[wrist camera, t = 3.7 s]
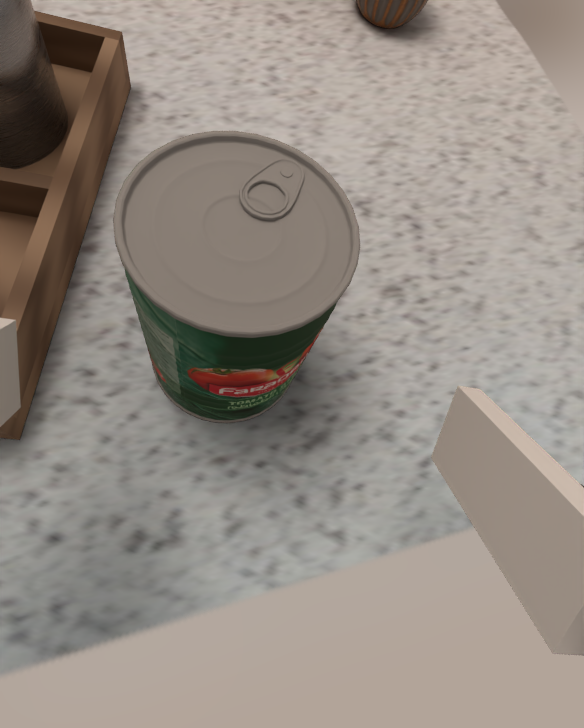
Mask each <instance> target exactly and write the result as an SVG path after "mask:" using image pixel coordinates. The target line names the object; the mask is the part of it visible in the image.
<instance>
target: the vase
mask: <svg viewBox="0 0 584 728" xmlns="http://www.w3.org/2000/svg"><path fill="white" fill-rule="evenodd" d="M427 1H428V0H356V2H357V4H358V7H359V9H360V11H361V13H362V15H363V16H364V17H365V18H366V19H367V20H368V21H370V22H371V23H373V24H375V25H377V26H379V27H383V28H396V27H399V26H401V25H403V24H405V23H407V22H409V21H410V20H411V19H413V18H414V17H415V16H416V15H417V14H418V13H419V12H420V11H421V10H422V8H423V7H424V6H425V4H426V3H427Z"/></svg>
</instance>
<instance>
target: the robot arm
mask: <svg viewBox="0 0 584 728" xmlns="http://www.w3.org/2000/svg"><path fill="white" fill-rule="evenodd" d="M19 408H21V404H20V385H19V367H18V349H17V331H16V320H12V319H5V318H0V427H1V426H2V425H3V424H4V423H5V422H6V421H7V420H8V419H9V418H10V417H11V416H12V415H13V414H14V413H15V412H16V411H17V410H18V409H19ZM431 458H432V460H433V462H434V463H435V465H436V466H437V468H438V470H439V471H440V473H441V474H442V476H443V478H444V479H445V481H446V483H447V484H448V486H449V487H450V489H451V491H452V492H453V494H454V495H455V497H456V499H457V500H458V502H459V503H460V505H461V507H462V508H463V510H464V512H465V513H466V515H467V516H468V518H469V520H470V521H471V523H472V524H473V526H474V528H475V529H476V531H477V532H478V534H479V536H480V537H481V539H482V541H483V542H484V544H485V545H486V547H487V549H488V550H489V552H490V553H491V555H492V557H493V558H494V560H495V562H496V563H497V565H498V566H499V568H500V570H501V571H502V573H503V574H504V576H505V578H506V579H507V581H508V582H509V584H510V586H511V587H512V589H513V591H514V592H515V594H516V595H517V597H518V599H519V600H520V602H521V603H522V605H523V607H524V608H525V610H526V612H527V613H528V615H529V616H530V618H531V620H532V621H533V623H534V624H535V626H536V627H537V629H538V631H539V632H540V634H541V636H542V637H543V639H544V640H545V642H546V644H547V645H548V647H549V649H550V650H551V652H552V653H553V654H568V655H584V486H583V485H581V484H580V483H578V482H577V481H576V480H575V479H574V478H573V477H572V476H571V475H570V474H569V473H568V472H567V471H566V470H565V469H564V468H563V467H562V466H560V465H559V464H558V463H557V462H556V461H555V460H554V459H553V458H552V457H551V456H550V455H549V454H548V453H547V452H546V451H545V450H544V449H543V448H542V447H540V446H539V445H538V444H537V443H536V442H535V441H534V440H533V439H532V438H531V437H530V436H529V435H528V434H527V433H526V432H525V431H524V430H523V429H521V428H520V427H519V426H518V425H517V424H516V423H515V422H514V421H513V420H512V419H511V418H510V417H509V416H508V415H507V414H506V413H505V412H504V411H503V410H501V409H500V408H499V407H498V406H497V405H496V404H495V403H494V402H493V401H492V400H491V399H490V398H489V397H488V396H487V395H486V394H485V393H484V392H483V391H481V390H480V389H476V388H469V387H462V386H458V387H457V389H456V392H455V395H454V397H453V400H452V403H451V405H450V408H449V411H448V413H447V416H446V419H445V421H444V424H443V427H442V429H441V432H440V435H439V438H438V440H437V443H436V446H435V448H434V451H433V454H432V456H431Z"/></svg>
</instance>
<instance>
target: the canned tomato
mask: <svg viewBox="0 0 584 728" xmlns="http://www.w3.org/2000/svg"><path fill="white" fill-rule="evenodd" d="M113 223H114V234H115V244H116V247H117V249H118V252H119V255H120V258H121V261H122V264H123V266H124V267H125V273H126V277H127V280H128V282H129V287H130V290H131V293H132V296H133V300H134V303H135V306H136V311H137V313H138V317H139V321H140V323H141V328H142V331H143V334H144V337H145V340H146V344H147V347H148V351H149V354H150V358H151V361H152V366H153V370H154V373H155V376H156V379H157V382H158V383H159V385H160V387H161V388H162V390H163V391H164V393H165V394H166V395H167V397H168V398H169V399H170V400H171V401H172V402H173V403H174V404H175V405H176V406H178V407H179V408H181V409H182V410H184V411H185V412H186V413H188V414H190V415H193V416H195V417H197V418H200V419H202V420H207V421H212V422H217V423H233V422H239V421H245V420H248V419H251V418H253V417H256V416H259V415H261V414H262V413H264V412H265V411H267V410H269V409H270V408H272V407H273V406H274V405H275V404H276V403H277V402H278V401H279V400H280V399H281V398H282V397H283V395H284V394H285V393H286V391H287V390H288V388H289V387H290V384H291V382H292V380H293V378H294V377H295V375H296V373H297V372H298V370H299V368H300V366H301V365H302V363H303V361H304V360H305V358H306V356H307V354H308V353H309V351H310V349H311V347H312V346H313V344H314V342H315V340H316V339H317V337H318V335H319V333H320V332H321V330H322V329H323V327H324V324H325V323H326V322H327V320H328V318H329V316H330V314H331V313H332V311H333V310H334V308H335V306H336V303H337V301H338V300H339V299H340V297H341V296H342V294H343V293H344V291H345V290H346V289H347V287H348V286H349V284H350V282H351V280H352V277H353V275H354V272H355V270H356V267H357V264H358V257H359V250H360V238H359V226H358V223H357V220H356V217H355V213H354V210H353V208H352V206H351V204H350V202H349V200H348V198H347V196H346V195H345V193H344V191H343V190H342V188H341V187H340V186H339V185H338V183H337V182H336V181H335V180H334V178H333V177H332V176H331V175H330V174H329V173H328V172H327V171H326V170H325V169H324V168H322V167H321V166H320V165H319V164H318V163H317V162H316V161H314V160H313V159H311V158H310V157H308V156H307V155H305V154H304V153H302V152H301V151H299V150H297V149H295V148H293V147H291V146H289V145H287V144H284V143H282V142H280V141H278V140H275V139H271V138H268V137H265V136H261V135H258V134H252V133H245V132H238V131H211V132H204V133H198V134H192V135H189V136H186V137H183V138H180V139H177V140H174V141H171V142H169V143H167V144H165V145H164V146H162V147H160V148H158V149H156V150H154V151H153V152H151V153H150V154H149V155H148V156H147V157H146V158H144V159H143V160H142V161H141V162H140V163H138V164H137V165H136V167H135V168H134V169H133V170H132V172H131V173H130V174H129V176H128V177H127V178H126V180H125V181H124V183H123V186H122V188H121V190H120V193H119V195H118V197H117V200H116V206H115V212H114V218H113Z"/></svg>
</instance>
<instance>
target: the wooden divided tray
mask: <svg viewBox="0 0 584 728" xmlns="http://www.w3.org/2000/svg"><path fill="white" fill-rule="evenodd" d="M34 12H35V15H36V19H37V22H38V25H39V28H40V31H41V34H42V37H43V40H44V43H45V46H46V49H47V52H48V55H49V58H50V62H51V65H52V68H53V71H54V74H55V77H56V80H57V83H58V86H59V89H60V92H61V95H62V98H63V101H64V104H65V108H66V111H67V114H68V128H67V132H66V134H65V137H64V139H63V140H62V142H61V143H60V145H59V146H58V147H57V148H56V149H55V150H54V151H53V152H52V153H50V154H49V155H48V156H47V157H45V158H43V159H42V160H40V161H38V162H36V163H34V164H31V165H29V166H26V167H23V168H19V169H10V168H5V167H0V318H5V319H12V320H16V331H17V349H18V367H19V385H20V404H21V408H19V409H18V410H17V411H16V412H15V413H14V414H13V415H12V416H11V417H10V418H9V419H8V420H7V421H6V422H5V423H4V424H3V425H2V426H1V427H0V438H7V439H16V440H20V437H21V434H22V430H23V427H24V424H25V421H26V418H27V415H28V411H29V408H30V405H31V402H32V399H33V396H34V392H35V389H36V386H37V383H38V380H39V376H40V373H41V370H42V367H43V364H44V361H45V357H46V354H47V351H48V348H49V345H50V342H51V338H52V335H53V332H54V329H55V326H56V323H57V319H58V316H59V313H60V310H61V307H62V303H63V300H64V297H65V294H66V291H67V288H68V284H69V281H70V278H71V275H72V272H73V269H74V265H75V262H76V259H77V256H78V253H79V249H80V246H81V243H82V240H83V237H84V234H85V230H86V227H87V224H88V221H89V218H90V215H91V211H92V208H93V205H94V202H95V199H96V195H97V192H98V189H99V186H100V183H101V180H102V176H103V173H104V170H105V167H106V164H107V161H108V157H109V154H110V151H111V148H112V145H113V142H114V138H115V135H116V132H117V129H118V126H119V122H120V119H121V116H122V113H123V110H124V107H125V103H126V100H127V97H128V94H129V91H130V88H131V84H130V78H129V72H128V66H127V60H126V54H125V48H124V42H123V35H122V32H120V31H116V30H111V29H107V28H103V27H99V26H95V25H91V24H87V23H82V22H78V21H74V20H70V19H66V18H62V17H58V16H53V15H49V14H45V13H41V12H37V11H34Z"/></svg>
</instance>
